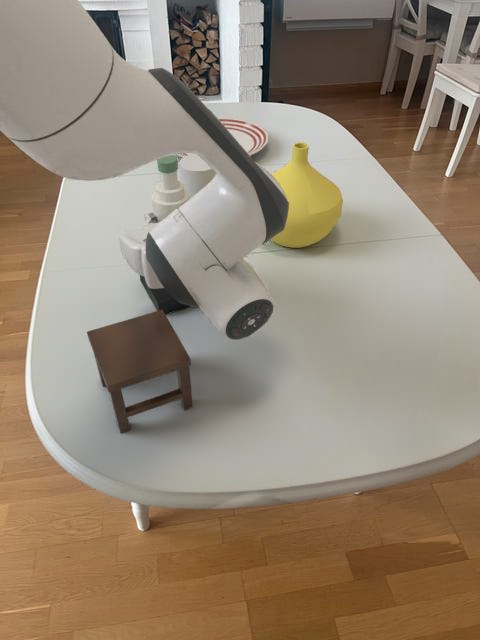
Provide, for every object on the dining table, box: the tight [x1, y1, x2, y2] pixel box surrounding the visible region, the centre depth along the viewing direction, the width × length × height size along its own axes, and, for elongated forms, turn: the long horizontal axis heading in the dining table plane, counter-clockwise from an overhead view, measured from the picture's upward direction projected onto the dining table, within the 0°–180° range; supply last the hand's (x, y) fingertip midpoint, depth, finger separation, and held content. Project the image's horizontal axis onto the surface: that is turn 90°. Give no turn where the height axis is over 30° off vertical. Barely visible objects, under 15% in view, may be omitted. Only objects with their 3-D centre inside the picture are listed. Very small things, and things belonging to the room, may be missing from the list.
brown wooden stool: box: [86, 310, 194, 434], centre depth 73 cm, size 11×11×10 cm
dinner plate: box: [175, 117, 270, 158], centre depth 139 cm, size 27×27×3 cm
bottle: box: [151, 155, 190, 223], centre depth 84 cm, size 6×6×18 cm
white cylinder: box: [178, 154, 216, 198], centre depth 110 cm, size 8×8×12 cm
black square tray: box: [139, 275, 192, 315], centre depth 93 cm, size 11×11×3 cm
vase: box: [269, 141, 344, 249], centre depth 102 cm, size 18×18×19 cm
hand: (170, 212), depth 85 cm, fingers closed on bottle, 6 cm apart
